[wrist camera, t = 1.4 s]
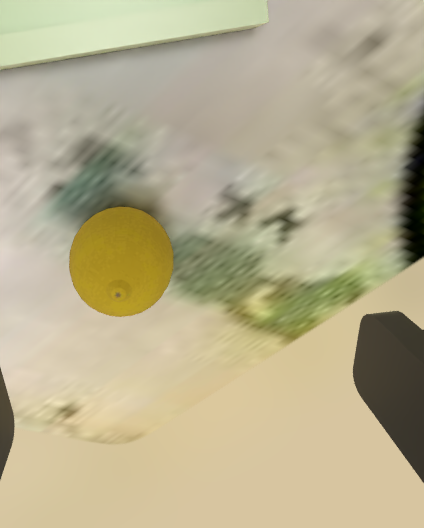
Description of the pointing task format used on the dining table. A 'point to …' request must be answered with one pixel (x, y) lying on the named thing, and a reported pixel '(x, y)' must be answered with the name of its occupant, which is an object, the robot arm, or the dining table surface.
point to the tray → (113, 25)
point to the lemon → (121, 261)
